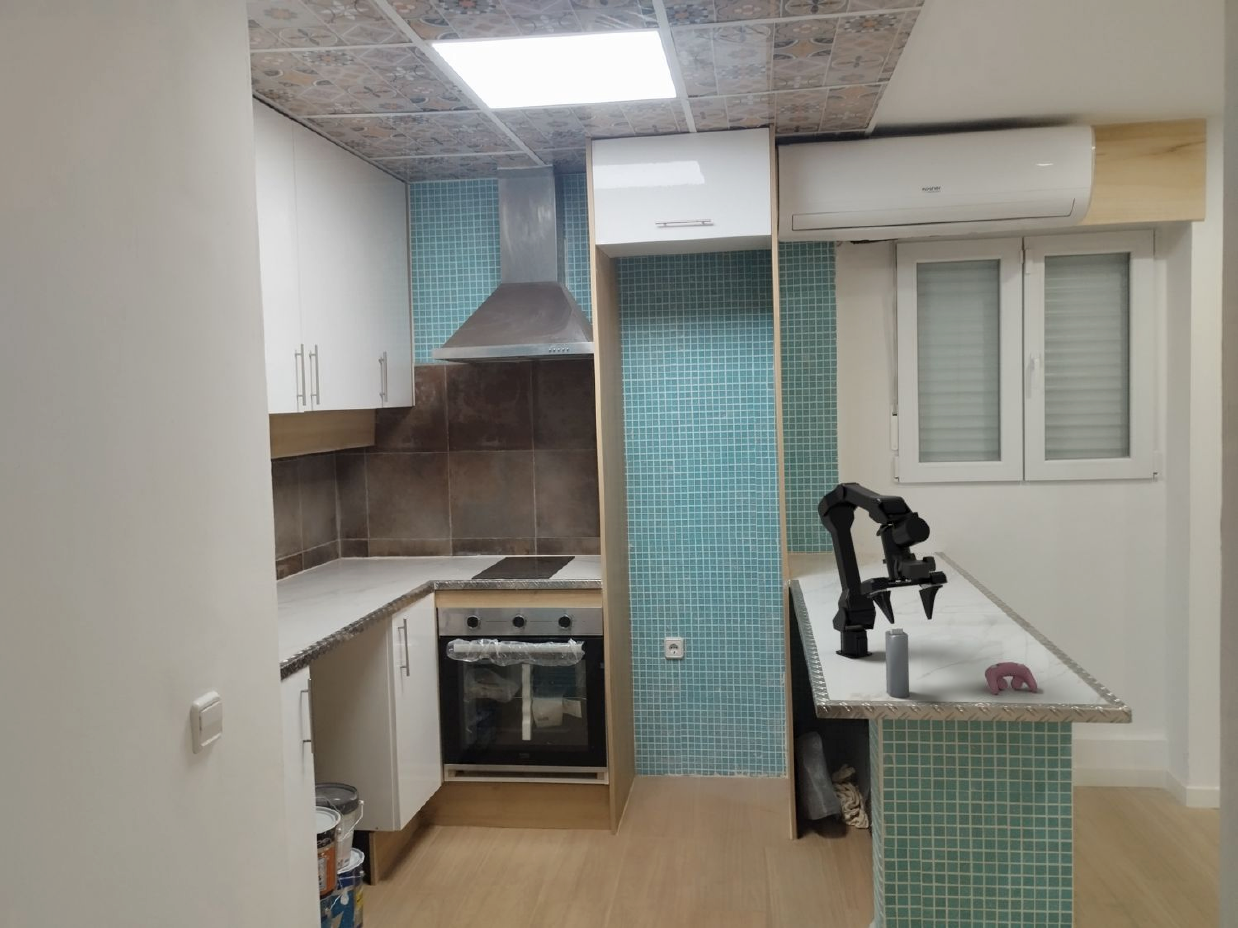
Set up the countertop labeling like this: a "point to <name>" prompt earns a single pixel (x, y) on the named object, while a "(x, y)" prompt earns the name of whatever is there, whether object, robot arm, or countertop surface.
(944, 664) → the countertop surface
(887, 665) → the grey bottle
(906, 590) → the countertop surface
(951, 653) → the countertop surface
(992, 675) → the video game controller
